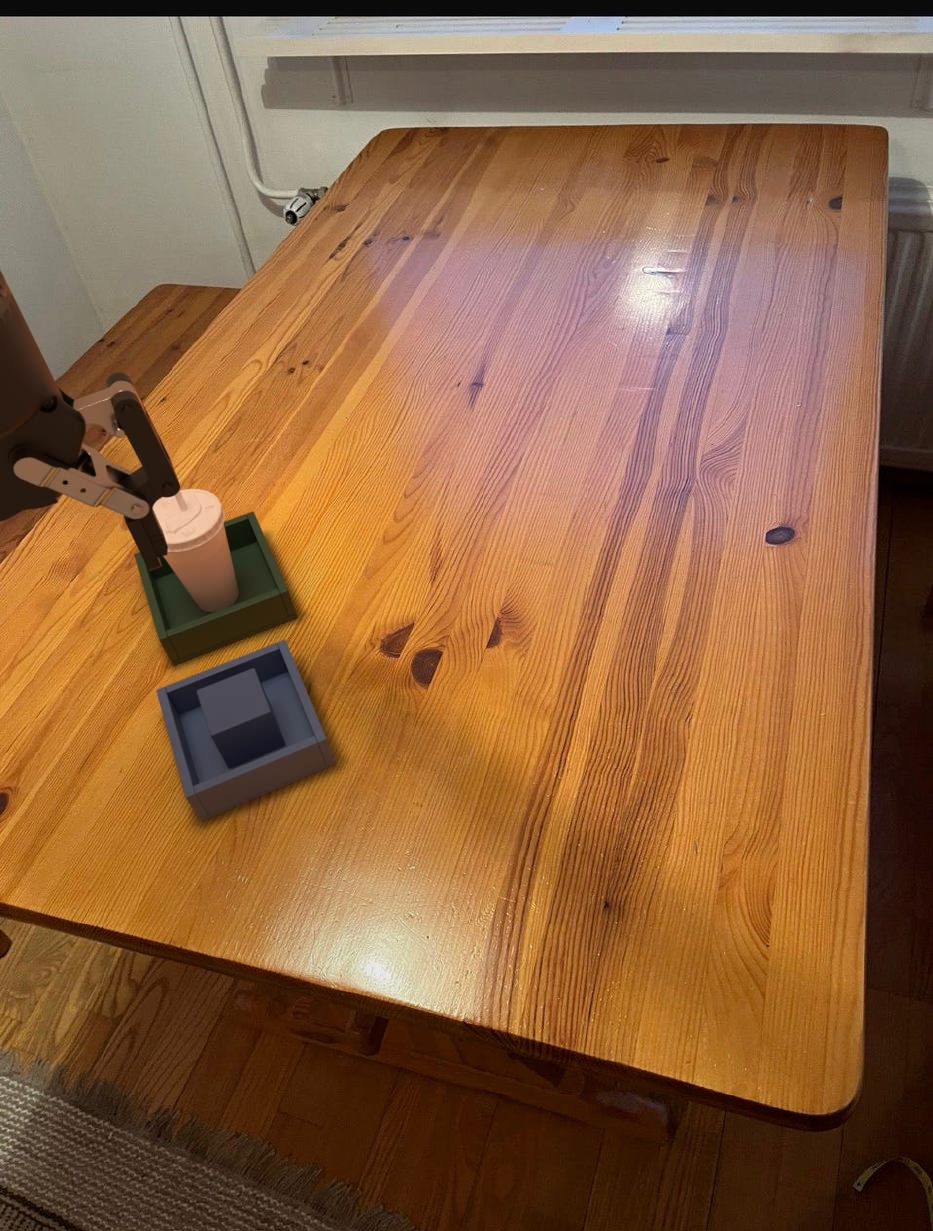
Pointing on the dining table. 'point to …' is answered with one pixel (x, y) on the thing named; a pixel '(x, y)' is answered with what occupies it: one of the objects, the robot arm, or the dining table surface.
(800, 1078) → the dining table surface
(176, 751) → the blue bin
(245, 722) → the blue block
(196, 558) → the smoothie
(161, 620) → the green bin
